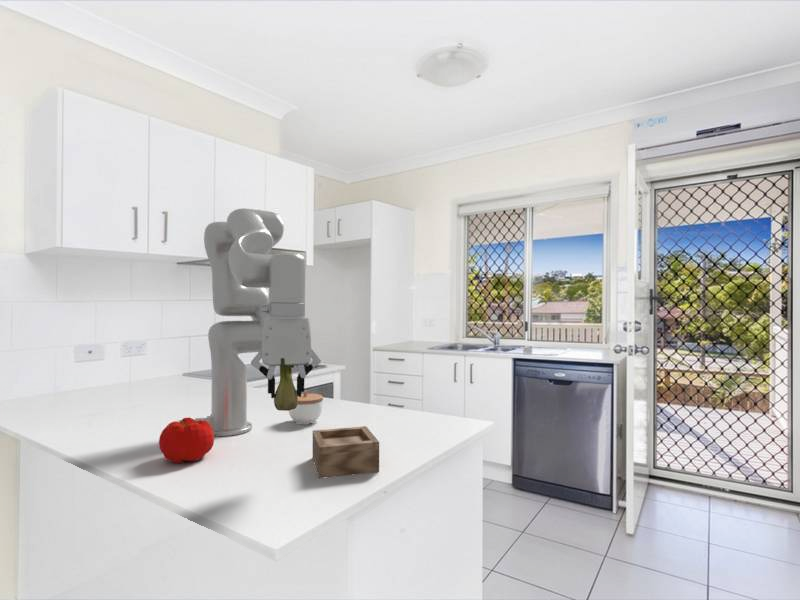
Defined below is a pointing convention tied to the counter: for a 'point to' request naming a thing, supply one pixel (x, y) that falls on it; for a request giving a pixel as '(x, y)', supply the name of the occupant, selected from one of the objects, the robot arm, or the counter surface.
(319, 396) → the lidded jar
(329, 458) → the open walnut box
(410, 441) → the counter surface
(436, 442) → the counter surface
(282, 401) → the fennel bulb
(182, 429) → the tomato
